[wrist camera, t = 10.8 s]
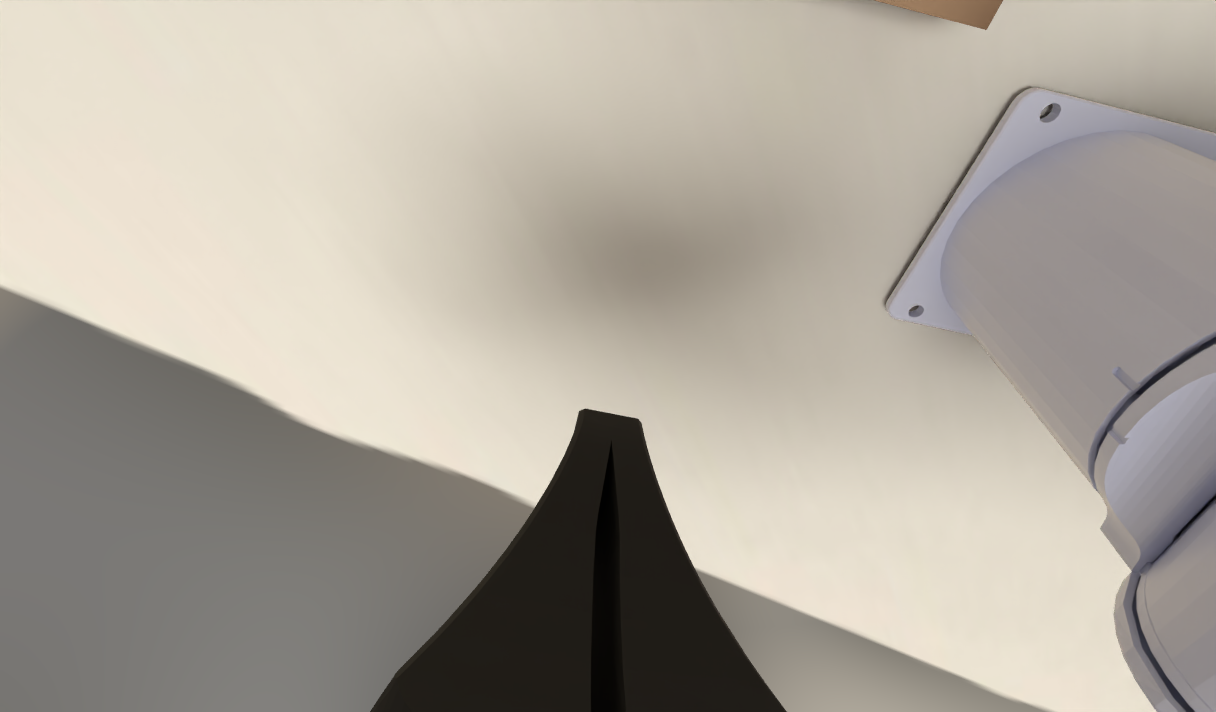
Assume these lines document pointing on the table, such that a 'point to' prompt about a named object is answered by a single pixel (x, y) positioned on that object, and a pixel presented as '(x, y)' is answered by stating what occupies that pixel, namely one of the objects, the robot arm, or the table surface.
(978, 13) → the guide rails
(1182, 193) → the robot arm
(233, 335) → the table surface
